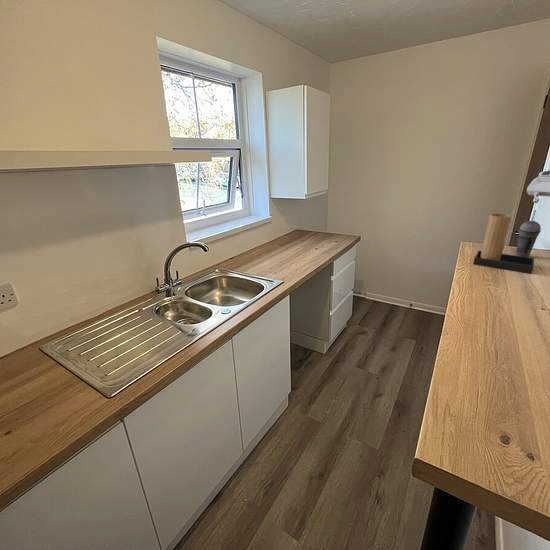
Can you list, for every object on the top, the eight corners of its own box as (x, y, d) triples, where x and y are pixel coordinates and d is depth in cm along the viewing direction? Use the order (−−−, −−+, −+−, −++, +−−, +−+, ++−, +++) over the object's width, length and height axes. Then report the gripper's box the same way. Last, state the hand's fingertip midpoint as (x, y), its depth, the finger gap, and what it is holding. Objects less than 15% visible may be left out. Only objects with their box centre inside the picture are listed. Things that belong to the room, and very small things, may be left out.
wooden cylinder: (496, 260, 128) (508, 213, 121) (501, 266, 122) (514, 217, 115) (477, 259, 131) (488, 213, 123) (481, 264, 125) (493, 216, 117)
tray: (532, 265, 122) (534, 258, 121) (531, 273, 114) (533, 266, 113) (477, 256, 133) (478, 250, 132) (473, 264, 125) (474, 257, 124)
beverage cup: (511, 257, 131) (524, 211, 124) (511, 252, 137) (523, 208, 129) (533, 259, 127) (548, 212, 120) (532, 254, 133) (546, 209, 125)
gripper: (597, 184, 124) (580, 211, 123) (537, 181, 140) (521, 205, 139) (597, 173, 120) (580, 201, 119) (535, 172, 136) (519, 196, 135)
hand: (548, 203), depth 129 cm, fingers open, 8 cm apart
